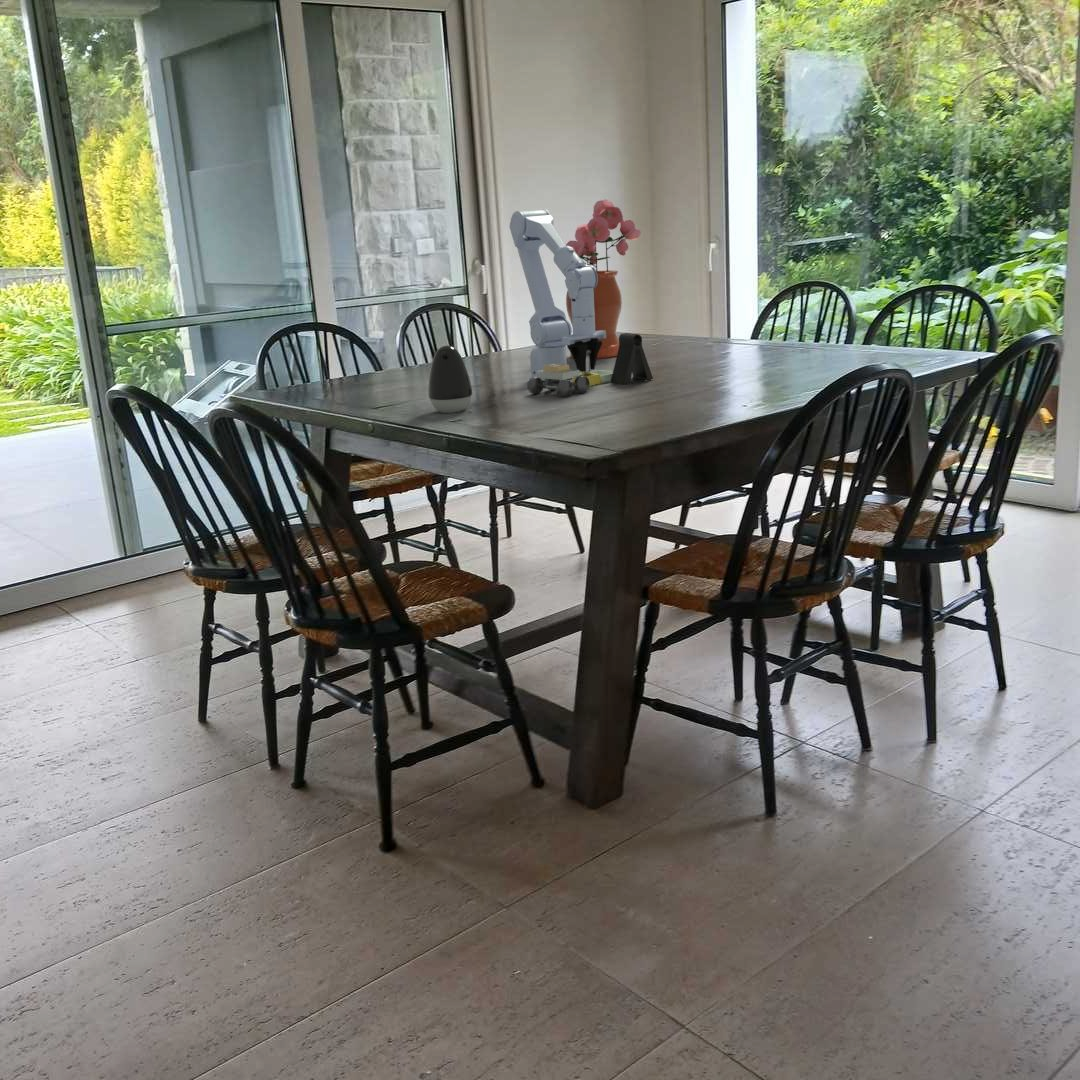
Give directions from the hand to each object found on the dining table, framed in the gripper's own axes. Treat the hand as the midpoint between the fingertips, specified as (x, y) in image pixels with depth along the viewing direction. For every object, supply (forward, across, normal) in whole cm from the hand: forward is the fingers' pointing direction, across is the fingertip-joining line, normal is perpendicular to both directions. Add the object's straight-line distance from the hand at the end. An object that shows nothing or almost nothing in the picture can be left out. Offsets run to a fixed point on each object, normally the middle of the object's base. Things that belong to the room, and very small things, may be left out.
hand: (586, 370), depth 284 cm
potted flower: (+4, +44, +34) cm, 55 cm away
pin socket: (+4, 0, 0) cm, 4 cm away
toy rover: (+4, -13, -2) cm, 14 cm away
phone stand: (+4, +9, -8) cm, 12 cm away
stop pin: (+4, 0, 0) cm, 4 cm away
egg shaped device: (+4, -42, +4) cm, 42 cm away
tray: (+4, +6, +1) cm, 7 cm away
